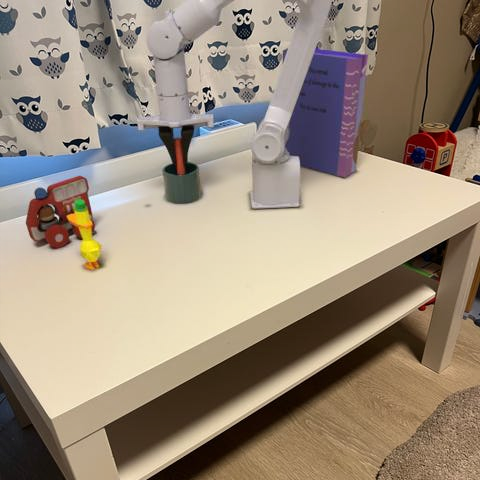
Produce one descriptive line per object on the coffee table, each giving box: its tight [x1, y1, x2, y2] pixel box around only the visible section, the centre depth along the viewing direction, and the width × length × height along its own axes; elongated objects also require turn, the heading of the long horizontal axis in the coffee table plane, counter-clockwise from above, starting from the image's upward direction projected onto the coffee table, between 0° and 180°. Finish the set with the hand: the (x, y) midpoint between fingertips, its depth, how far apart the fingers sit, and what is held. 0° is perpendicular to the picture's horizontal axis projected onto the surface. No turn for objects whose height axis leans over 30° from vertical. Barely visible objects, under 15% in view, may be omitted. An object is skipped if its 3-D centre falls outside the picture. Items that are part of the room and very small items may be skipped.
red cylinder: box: [174, 137, 185, 175], centre depth 105 cm, size 2×2×7 cm
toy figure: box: [67, 199, 103, 271], centre depth 85 cm, size 7×4×12 cm, turn 49°
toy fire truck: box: [25, 175, 96, 249], centre depth 94 cm, size 7×12×10 cm, turn 130°
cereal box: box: [281, 47, 369, 179], centre depth 114 cm, size 17×5×24 cm, turn 49°
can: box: [162, 161, 202, 205], centre depth 108 cm, size 7×7×6 cm
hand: (180, 164), depth 106 cm, fingers closed on red cylinder, 1 cm apart
